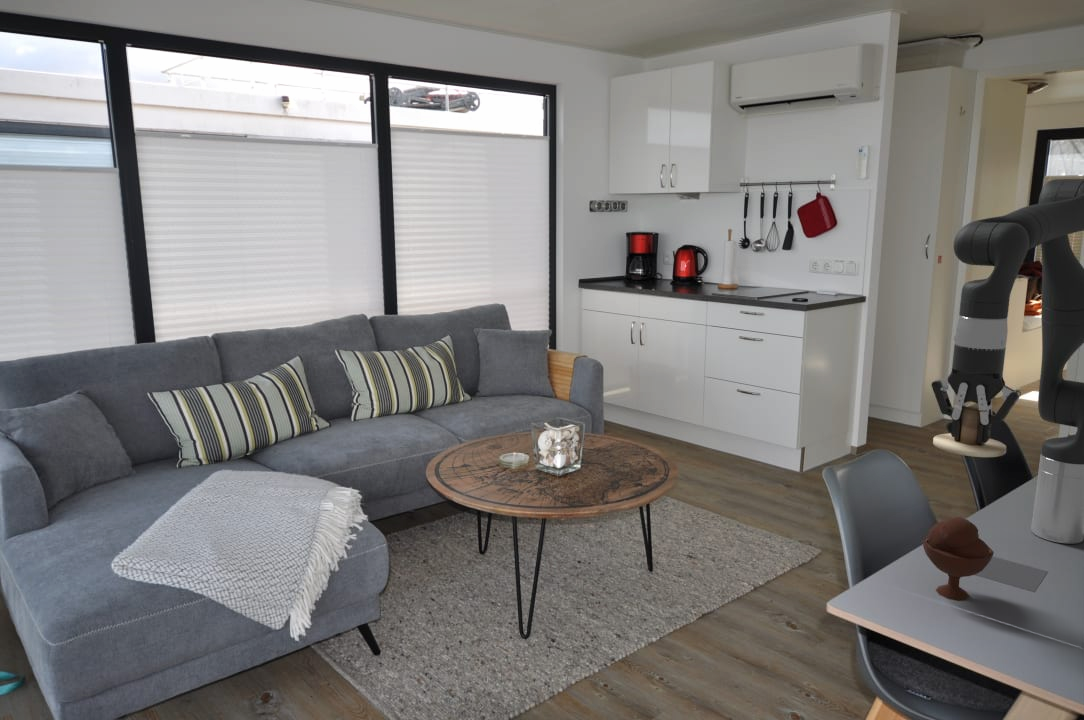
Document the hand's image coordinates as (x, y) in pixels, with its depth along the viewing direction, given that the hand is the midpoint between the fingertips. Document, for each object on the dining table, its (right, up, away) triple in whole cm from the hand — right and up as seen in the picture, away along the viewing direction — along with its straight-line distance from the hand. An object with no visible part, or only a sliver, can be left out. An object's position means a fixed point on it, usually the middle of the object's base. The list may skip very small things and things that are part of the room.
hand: (969, 441), depth 131 cm
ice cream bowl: (0, -28, +6) cm, 29 cm away
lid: (0, -1, 0) cm, 1 cm away
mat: (+15, -26, +13) cm, 33 cm away
